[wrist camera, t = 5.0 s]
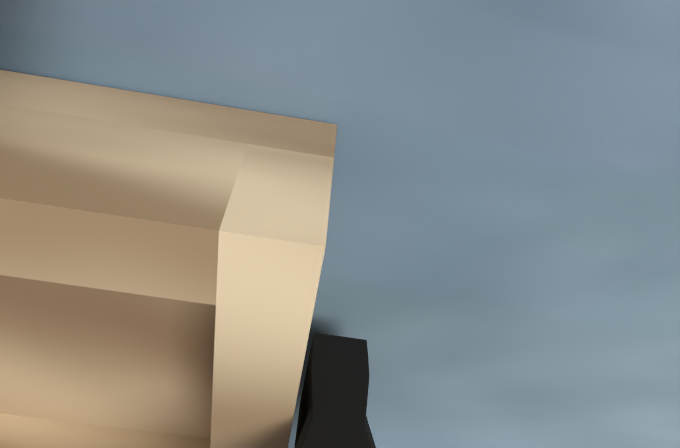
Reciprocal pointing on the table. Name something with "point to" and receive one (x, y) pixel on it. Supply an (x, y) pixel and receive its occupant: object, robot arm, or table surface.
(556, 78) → the table surface
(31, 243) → the socket block
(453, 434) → the table surface
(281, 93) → the table surface
